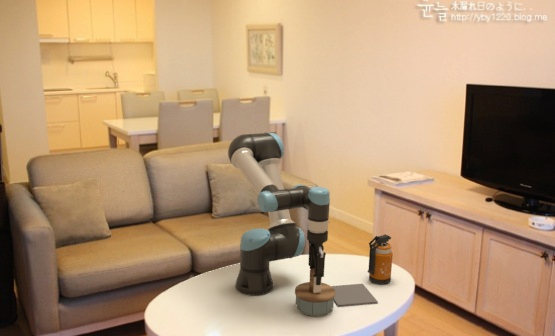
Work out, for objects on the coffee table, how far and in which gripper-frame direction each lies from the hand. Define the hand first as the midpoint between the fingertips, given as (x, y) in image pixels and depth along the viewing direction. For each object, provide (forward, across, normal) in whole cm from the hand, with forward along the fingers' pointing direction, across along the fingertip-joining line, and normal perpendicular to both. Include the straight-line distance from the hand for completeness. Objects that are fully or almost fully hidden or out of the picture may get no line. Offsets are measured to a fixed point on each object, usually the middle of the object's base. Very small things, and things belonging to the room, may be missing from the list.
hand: (315, 288), depth 209 cm
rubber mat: (+8, +7, -17) cm, 20 cm away
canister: (+8, +18, -33) cm, 38 cm away
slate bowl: (+8, 0, 0) cm, 8 cm away
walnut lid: (+2, 0, 0) cm, 2 cm away
